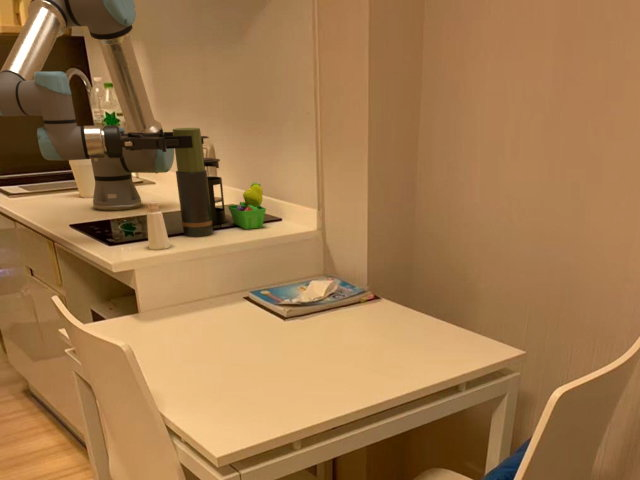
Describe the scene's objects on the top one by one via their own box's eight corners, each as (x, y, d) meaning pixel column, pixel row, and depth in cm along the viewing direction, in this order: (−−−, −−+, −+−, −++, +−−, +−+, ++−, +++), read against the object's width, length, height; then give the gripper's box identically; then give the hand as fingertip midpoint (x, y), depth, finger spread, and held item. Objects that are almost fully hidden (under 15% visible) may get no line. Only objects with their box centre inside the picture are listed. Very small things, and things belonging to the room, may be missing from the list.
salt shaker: (156, 250, 173) (149, 204, 167) (144, 247, 176) (137, 202, 170) (174, 246, 176) (168, 201, 171) (162, 243, 179) (155, 199, 174)
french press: (231, 223, 201) (222, 136, 190) (199, 226, 198) (188, 138, 186) (220, 217, 211) (211, 133, 199) (189, 219, 207) (179, 135, 196)
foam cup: (106, 196, 247) (99, 156, 240) (80, 199, 242) (72, 158, 236) (98, 193, 254) (91, 154, 247) (73, 195, 249) (65, 156, 243)
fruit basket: (228, 224, 201) (224, 182, 196) (256, 220, 205) (253, 180, 199) (243, 230, 193) (239, 187, 187) (272, 227, 196) (269, 184, 191)
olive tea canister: (175, 170, 183) (170, 128, 178) (200, 168, 186) (196, 127, 181) (180, 173, 178) (175, 130, 173) (207, 171, 180) (202, 129, 175)
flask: (180, 232, 192) (170, 153, 182) (209, 229, 195) (201, 152, 185) (187, 237, 185) (177, 156, 175) (216, 235, 188) (208, 155, 178)
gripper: (109, 153, 186) (189, 150, 191) (105, 164, 165) (195, 160, 170) (104, 122, 183) (186, 120, 187) (99, 129, 162) (191, 126, 166)
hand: (190, 139), depth 179 cm, fingers open, 13 cm apart
